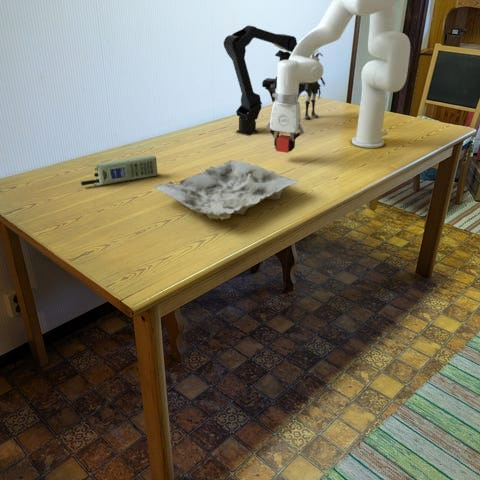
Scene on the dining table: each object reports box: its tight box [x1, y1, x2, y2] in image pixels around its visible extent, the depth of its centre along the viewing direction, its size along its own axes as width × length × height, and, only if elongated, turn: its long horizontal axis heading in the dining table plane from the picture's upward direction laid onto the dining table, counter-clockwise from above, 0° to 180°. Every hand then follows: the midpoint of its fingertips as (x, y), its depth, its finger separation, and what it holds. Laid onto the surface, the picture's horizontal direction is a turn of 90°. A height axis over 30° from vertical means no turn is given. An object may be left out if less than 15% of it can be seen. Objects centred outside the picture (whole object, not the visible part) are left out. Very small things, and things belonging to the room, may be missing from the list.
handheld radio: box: [80, 155, 159, 187], centre depth 164 cm, size 7×3×25 cm
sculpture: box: [153, 160, 300, 221], centre depth 153 cm, size 38×6×30 cm
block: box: [275, 134, 291, 154], centre depth 182 cm, size 5×4×5 cm
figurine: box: [304, 49, 326, 120], centre depth 227 cm, size 15×6×30 cm, turn 132°
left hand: (283, 105), depth 218 cm, fingers open, 9 cm apart
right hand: (284, 148), depth 183 cm, fingers closed on block, 4 cm apart
